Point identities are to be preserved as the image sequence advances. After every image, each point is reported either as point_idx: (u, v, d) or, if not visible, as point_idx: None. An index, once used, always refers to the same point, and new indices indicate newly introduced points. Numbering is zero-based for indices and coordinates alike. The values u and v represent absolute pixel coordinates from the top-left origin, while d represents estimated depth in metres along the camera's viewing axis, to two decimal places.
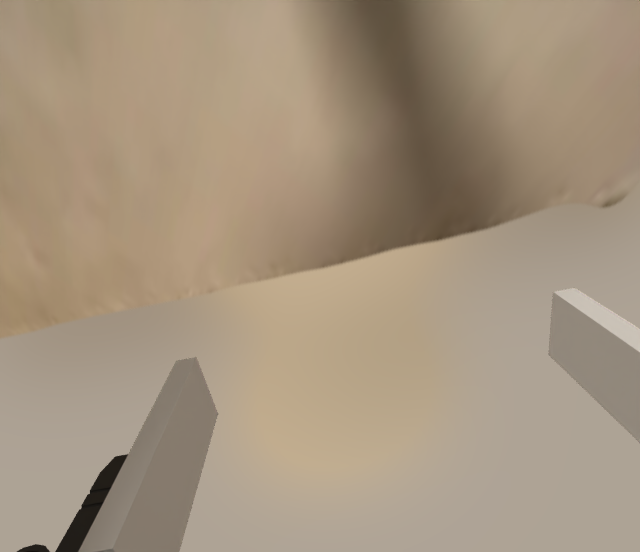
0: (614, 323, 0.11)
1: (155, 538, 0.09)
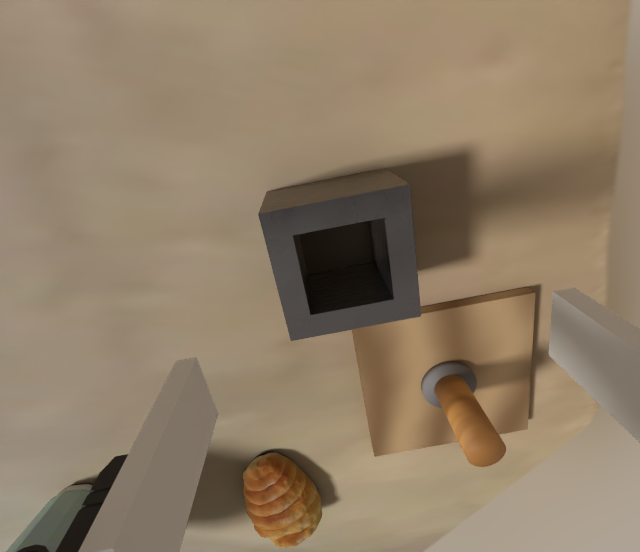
0: (614, 323, 0.11)
1: (155, 538, 0.09)
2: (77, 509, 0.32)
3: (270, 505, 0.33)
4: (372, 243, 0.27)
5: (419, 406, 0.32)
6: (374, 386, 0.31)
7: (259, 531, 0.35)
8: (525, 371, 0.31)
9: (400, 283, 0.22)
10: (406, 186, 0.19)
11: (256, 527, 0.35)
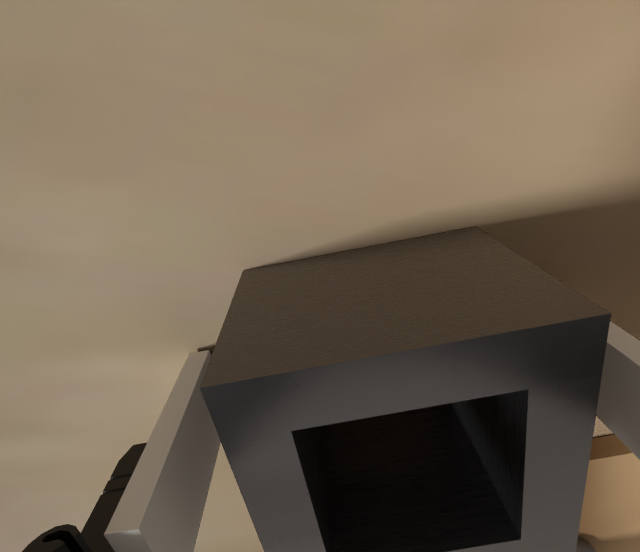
0: None
1: (175, 522, 0.09)
2: None
3: None
4: None
5: None
6: None
7: None
8: None
9: (541, 512, 0.09)
10: (601, 319, 0.07)
11: None
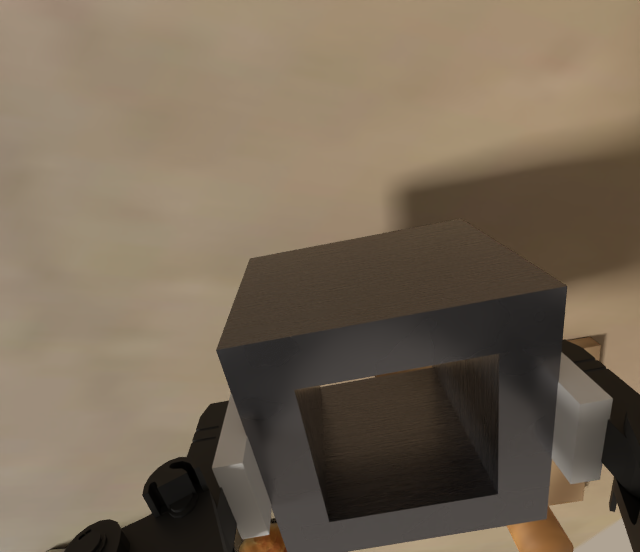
0: None
1: None
2: None
3: None
4: None
5: None
6: None
7: None
8: None
9: (515, 468, 0.11)
10: (558, 291, 0.08)
11: None
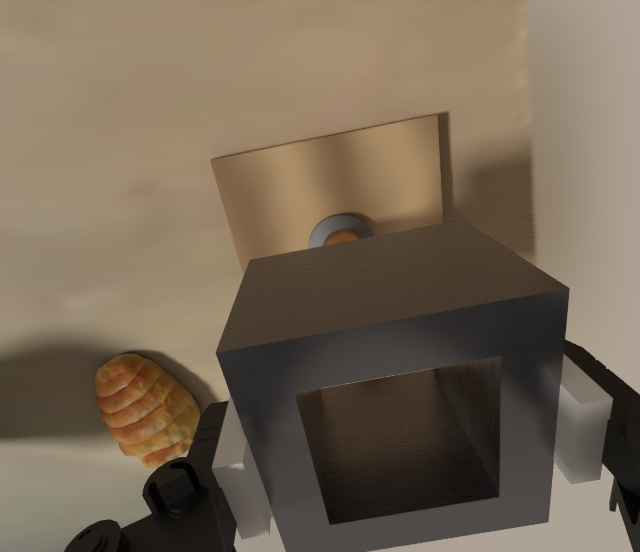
0: None
1: None
2: None
3: (124, 412, 0.28)
4: None
5: None
6: (251, 249, 0.25)
7: (122, 448, 0.29)
8: None
9: (516, 471, 0.10)
10: (561, 293, 0.08)
11: (119, 445, 0.30)
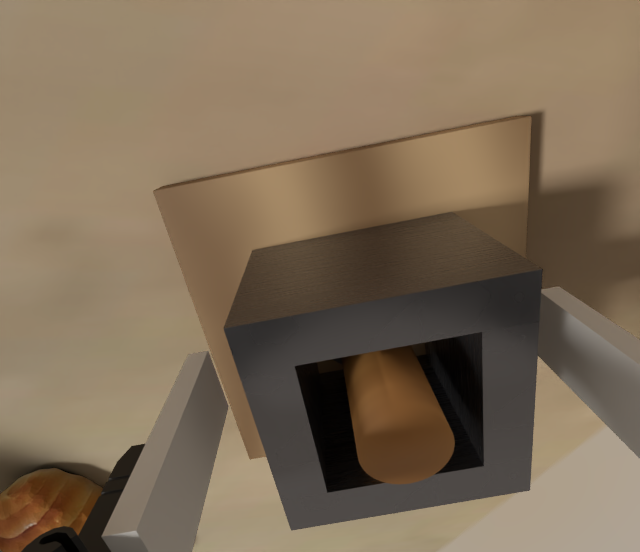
0: (594, 320, 0.11)
1: (173, 523, 0.09)
2: None
3: None
4: None
5: None
6: None
7: None
8: None
9: (499, 441, 0.11)
10: (535, 273, 0.09)
11: None
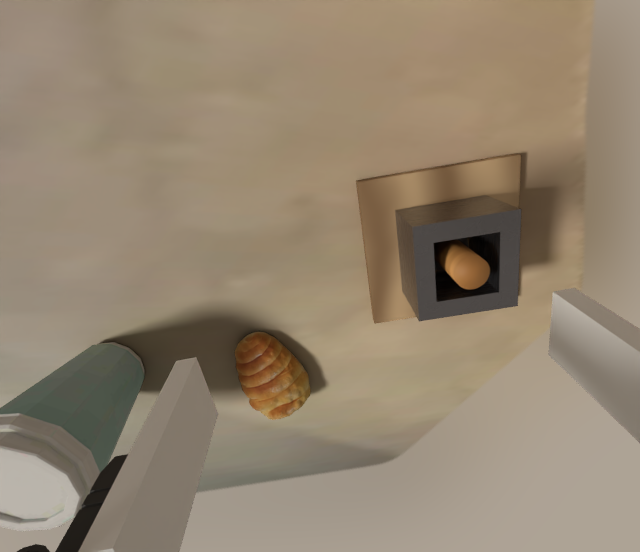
0: (614, 323, 0.11)
1: (155, 538, 0.09)
2: (106, 354, 0.36)
3: (259, 375, 0.37)
4: None
5: None
6: (376, 246, 0.34)
7: (253, 404, 0.39)
8: None
9: (505, 280, 0.29)
10: (518, 210, 0.27)
11: (251, 402, 0.39)
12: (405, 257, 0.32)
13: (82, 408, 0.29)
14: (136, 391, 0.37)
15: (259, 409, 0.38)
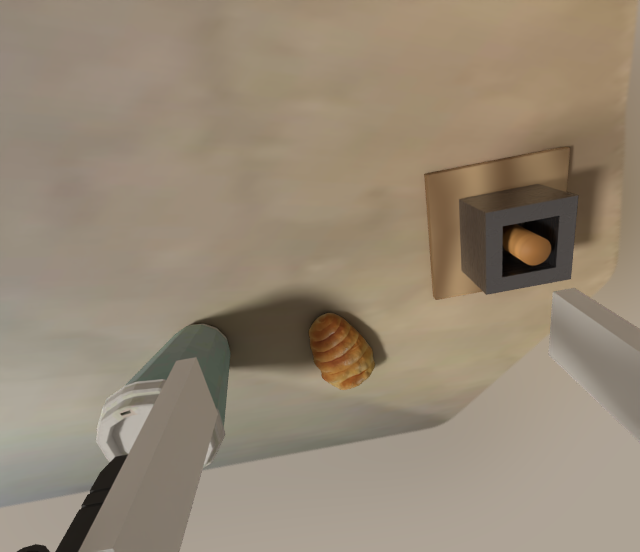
0: (614, 323, 0.11)
1: (155, 538, 0.09)
2: (202, 333, 0.41)
3: (333, 350, 0.42)
4: None
5: None
6: (441, 231, 0.39)
7: (326, 377, 0.44)
8: None
9: (561, 257, 0.34)
10: (576, 196, 0.32)
11: (324, 375, 0.44)
12: (470, 240, 0.37)
13: None
14: (228, 365, 0.41)
15: (332, 381, 0.44)
